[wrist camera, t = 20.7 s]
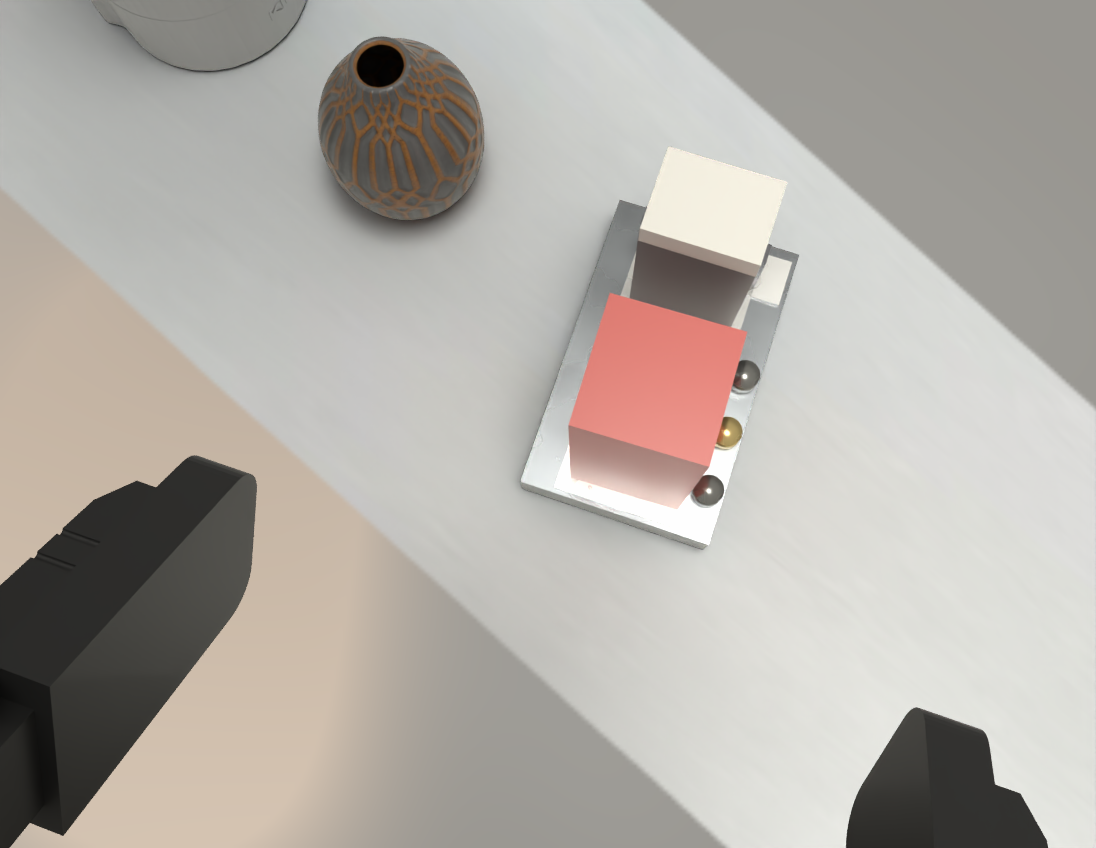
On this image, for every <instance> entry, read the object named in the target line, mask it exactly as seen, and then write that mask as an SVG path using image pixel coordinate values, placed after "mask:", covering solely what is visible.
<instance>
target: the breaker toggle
mask: <svg viewBox="0 0 1096 848" xmlns="http://www.w3.org/2000/svg"><path fill="white" fill-rule="evenodd" d="M786 185H787V182H786V181H782V180H779V179H776V178H772V177H769V176H766V175H762V174H759V173H756V172H752V171H749V170H746V169H742V168H739V167H736V166H732V165H729V164H726V163H722V162H719V161H716V160H712V159H709V158H706V157H702V156H699V155H696V154H692V153H689V152H686V151H682V150H679V149H676V148H672V147H669V146H668V149H667V152H666V155H665V158H664V160H663V163H662V166H661V169H660V172H659V175H658V178H657V181H656V183H655V186H654V189H653V192H652V195H651V198H650V201H649V204H648V207H647V209H646V212H645V215H644V218H643V221H642V224H641V227H640V231H639V238H638V244H637V251H636V257H635V264H634V270H633V277H632V284H631V290H630V297H629V298H630V299H633V300H637V301H641V302H644V303H648V304H651V305H655V306H658V307H662V308H665V309H669V310H672V311H676V312H679V313H683V314H686V315H690V316H693V317H697V318H700V319H704V320H707V321H711V322H715V323H718V324H722V325H725V326H729V327H731V326H732V324H733V322H734V320H735V318H736V316H737V314H738V312H739V310H740V308H741V306H742V304H743V301H744V299H745V297H746V295H747V293H748V291H749V289H750V287H751V285H752V283H753V281H754V279H755V277H756V275H757V273H758V271H759V268H760V266H761V264H762V260H763V257H764V254H765V251H766V248H767V245H768V242H769V239H770V235H771V232H772V229H773V226H774V223H775V220H776V217H777V213H778V210H779V207H780V204H781V201H782V198H783V195H784V191H785V188H786Z"/></svg>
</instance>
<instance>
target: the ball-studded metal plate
mask: <svg viewBox="0 0 1096 848" xmlns="http://www.w3.org/2000/svg"><path fill="white" fill-rule="evenodd" d="M646 209H647V207H646V208H645V207H642V206H638V205H635V204H632V203H629V202H625V201H622V200H620V201H619V204H618V207H617V209H616V212H615V215H614V218H613V221H612V224H611V226H610V229H609V232H608V235H607V238H606V240H605V243H604V246H603V249H602V252H601V255H600V257H599V260H598V263H597V266H596V269H595V272H594V274H593V277H592V280H591V283H590V286H589V289H588V291H587V294H586V297H585V300H584V303H583V305H582V308H581V311H580V314H579V317H578V320H577V322H576V325H575V328H574V331H573V334H572V337H571V339H570V342H569V345H568V348H567V351H566V354H565V356H564V359H563V362H562V365H561V368H560V371H559V373H558V376H557V379H556V382H555V385H554V387H553V390H552V393H551V396H550V399H549V402H548V404H547V407H546V410H545V413H544V416H543V419H542V421H541V424H540V427H539V430H538V433H537V436H536V438H535V441H534V444H533V447H532V450H531V453H530V455H529V458H528V461H527V464H526V467H525V469H524V472H523V475H522V478H521V481H520V482H521V485H522V488H523V489H525V490H528V491H531V492H534V493H537V494H540V495H543V496H546V497H549V498H551V499H554V500H557V501H560V502H563V503H566V504H569V505H572V506H575V507H578V508H581V509H584V510H587V511H590V512H593V513H596V514H599V515H602V516H605V517H608V518H611V519H614V520H616V521H619V522H622V523H625V524H628V525H631V526H634V527H637V528H640V529H643V530H646V531H649V532H652V533H655V534H658V535H661V536H664V537H667V538H670V539H673V540H676V541H679V542H681V543H684V544H687V545H690V546H693V547H696V548H699V549H702V550H703V549H704V548H705V547H707V546H708V545H709V543H710V539H711V536H712V533H713V530H714V526H715V523H716V520H717V517H718V514H719V510H720V507H721V504H722V501H723V498H724V494H725V491H726V488H727V485H728V482H729V478H730V475H731V472H732V469H733V465H734V462H735V459H736V456H737V453H738V449H739V446H740V443H741V440H742V437H743V433H744V430H745V427H746V424H747V420H748V417H749V414H750V411H751V408H752V404H753V401H754V398H755V395H756V392H757V388H758V385H759V382H760V379H761V376H762V372H763V369H764V366H765V363H766V359H767V356H768V353H769V350H770V347H771V343H772V340H773V337H774V334H775V331H776V327H777V324H778V321H779V318H780V314H781V311H782V308H783V305H784V302H785V298H786V295H787V292H788V289H789V286H790V282H791V279H792V276H793V273H794V270H795V266H796V263H797V260H798V257H799V255H798V254H795V253H791V252H788V251H785V250H782V249H778V248H775V247H772V245H770V244H768V245H767V248H766V251H765V254H764V257H763V260H762V264H761V266H760V268H759V271H758V273H757V275H756V277H755V279H754V281H753V283H752V285H751V287H750V289H749V291H748V293H747V295H746V297H745V299H744V301H743V304H742V306H741V308H740V310H739V312H738V314H737V316H736V318H735V320H734V322H733V324H732V326H731V327H732V328H736V329H739V330H743V331H746V332H747V335H746V338H745V342H744V346H743V349H742V353H741V356H740V360H739V363H738V367H737V370H736V374H735V378H734V381H733V385H732V388H731V392H730V395H729V399H728V403H727V406H726V410H725V413H724V417H723V420H722V424H721V427H720V431H719V435H718V438H717V442H716V445H715V449H714V452H713V456H712V459H711V463H710V467H709V468H708V469H707V471H706V472H705V474H704V475H703V476H702V478H701V479H700V480H699V482H698V483H697V484H696V486H695V487H694V488H693V490H692V491H691V492H690V494H689V495H688V496H687V498H686V499H685V501H684V502H683V503H682V505H681V506H680V507H679V509H678V510H676V509H673V508H669V507H666V506H663V505H660V504H656V503H653V502H650V501H646V500H643V499H640V498H636V497H633V496H630V495H626V494H623V493H620V492H616V491H613V490H610V489H606V488H603V487H600V486H597V485H593V484H590V483H587V482H583V481H580V480H577V479H573V478H570V455H569V427H568V425H569V422H570V419H571V415H572V412H573V409H574V406H575V403H576V399H577V396H578V393H579V390H580V387H581V383H582V380H583V377H584V374H585V371H586V367H587V364H588V361H589V358H590V355H591V351H592V348H593V345H594V342H595V339H596V335H597V332H598V329H599V326H600V323H601V319H602V316H603V313H604V310H605V307H606V303H607V300H608V297H609V294H610V293H612V294H616V295H619V296H623V297H626V298H629V297H630V290H631V284H632V277H633V270H634V264H635V257H636V251H637V244H638V238H639V231H640V227H641V224H642V221H643V218H644V215H645V212H646Z"/></svg>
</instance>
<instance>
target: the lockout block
mask: <svg viewBox="0 0 1096 848" xmlns="http://www.w3.org/2000/svg"><path fill="white" fill-rule="evenodd" d="M746 335H747V332H746V331H743V330H739V329H736V328H732V327H729V326H725V325H722V324H718V323H715V322H711V321H707V320H704V319H700V318H697V317H693V316H690V315H686V314H683V313H679V312H676V311H672V310H669V309H665V308H662V307H658V306H655V305H651V304H648V303H644V302H641V301H637V300H633V299H630V298H626V297H623V296H619V295H616V294H612V293H610V294H609V297H608V300H607V303H606V307H605V310H604V313H603V316H602V319H601V323H600V326H599V329H598V332H597V335H596V339H595V342H594V345H593V348H592V351H591V355H590V358H589V361H588V364H587V367H586V371H585V374H584V377H583V380H582V383H581V387H580V390H579V393H578V396H577V399H576V403H575V406H574V409H573V412H572V415H571V419H570V422H569V425H568V427H569V455H570V478H573V479H577V480H580V481H583V482H587V483H590V484H593V485H597V486H600V487H603V488H606V489H610V490H613V491H616V492H620V493H623V494H626V495H630V496H633V497H636V498H640V499H643V500H646V501H650V502H653V503H656V504H660V505H663V506H666V507H669V508H673V509H676V510H678V509H679V507H680V506H681V505H682V503H683V502H684V501H685V499H686V498H687V496H688V495H689V494H690V492H691V491H692V490H693V488H694V487H695V486H696V484H697V483H698V482H699V480H700V479H701V478H702V476H703V475H704V474H705V472H706V471H707V469H708V468H709V467H710V463H711V459H712V456H713V452H714V449H715V445H716V442H717V438H718V435H719V431H720V427H721V424H722V420H723V417H724V413H725V410H726V406H727V403H728V399H729V395H730V392H731V388H732V385H733V381H734V378H735V374H736V370H737V367H738V363H739V360H740V356H741V353H742V349H743V346H744V342H745V338H746Z"/></svg>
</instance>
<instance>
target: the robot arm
mask: <svg viewBox="0 0 1096 848" xmlns="http://www.w3.org/2000/svg"><path fill="white" fill-rule="evenodd" d="M91 2H92V3H93V4H94V6H95V7H96V8H97V10H98V11H99V12H100V14H101V15H102V16H103V18H104V19H105V20H106V21H107V22H109V23H113V24H117V25H120V26H123V27H125V28H126V29H127V30H128V31H129V32H130V33H131V34H132V35H133V37H134V38H135V39H136V40H137V42H138V43H139V44H140V45H141V47H143V48H144V49H145V50H147V51H148V52H149V53H151V54H152V55H153V56H154V57H156V58H158V59H160V60H162V61H164V62H166V63H169V64H171V65H173V66H177V67H181V68H185V69H190V70H204V71H215V70H221V69H227V68H233V67H236V66H239V65H241V64H244V63H247V62H250V61H252V60H254V59H256V58H258V57H259V56H261V55H263V54H264V53H266V52H268V51H269V50H271V49H272V48H273V47H274V46H275V45H276V44H278V43H279V42H280V41H281V40H282V39H283V38H284V37H285V36H286V35H287V34H288V32H289V31H290V30H291V28H292V27H293V26H294V24H295V23H296V22H297V20H298V18H299V16H300V14H301V12H302V10H303V7H304V5H305V2H306V0H91ZM256 492H257V484H256V480H255V477H254V476H253V475H251V474H249V473H246V472H243V471H240V470H237V469H234V468H231V467H228V466H225V465H222V464H219V463H217V462H214V461H211V460H208V459H205V458H202V457H199V456H191V457H189V458H187V459H185V460H184V461H183V462H182V463H181V464H180V465H179V466H178V467H177V468H176V469H175V470H174V471H173V472H172V473H171V474H170V475H169V476H168V477H167V478H165V480H164V481H162V482H161V483H160V484H159V485H158V486H157V487H153V486H150V485H147V484H144V483H141V482H139V481H135V482H133V483H131V484H129V485H126V486H124V487H122V488H120V489H117V490H115V491H113V492H111V493H109V494H106V495H104V496H102V497H100V498H97V499H95V500H93V501H92V502H91V503H90V504H89V505H88V506H87V507H86V508H85V509H83V510H82V511H81V512H80V513H79V514H78V515H77V516H76V517H75V518H74V519H73V520H71V521H70V522H69V523H68V524H67V525H66V526H65V527H64V528H63V531H62V533H61V534H60V535H58V534H56V535H55V536H54V537H53V538H52V539H51V540H50V541H48V542H47V543H46V544H45V545H44V546H43V547H42V548H41V549H40V550H38V552H37V555H36V557H35V558H30V559H29V560H28V561H26V562H25V563H24V564H23V565H22V566H21V567H20V568H19V569H18V570H17V571H15V573H13V575H11V576H10V577H9V578H8V579H7V580H6V581H5V582H3V583H2V584H1V585H0V848H9V847H11V845H12V844H13V843H14V842H15V840H16V839H17V838H18V837H19V835H20V834H21V833H22V832H23V831H24V829H25V828H26V827H27V825H28V824H29V823H32V824H34V825H37V826H39V827H42V828H44V829H47V830H50V831H52V832H55V833H57V834H60V835H62V836H63V835H64V834H65V833H66V832H67V830H68V829H69V828H70V827H71V825H72V824H73V823H74V821H75V820H76V819H77V817H78V816H79V815H80V814H81V812H82V811H83V810H84V808H85V807H86V806H87V804H88V803H89V802H90V800H91V799H92V798H93V796H94V795H95V794H96V793H97V791H98V790H99V789H100V787H101V786H102V785H103V784H104V782H105V781H106V780H107V778H108V777H109V776H110V774H111V773H112V772H113V771H114V769H115V768H116V767H117V765H118V764H119V763H120V761H121V760H122V759H123V757H124V756H125V755H126V754H127V752H128V751H129V750H130V748H131V747H132V746H133V744H134V743H135V742H136V741H137V739H138V738H139V737H140V735H141V734H142V733H143V731H144V730H145V729H146V728H147V726H148V725H149V724H150V722H151V721H152V720H153V718H154V717H155V716H156V715H157V713H158V712H159V711H160V709H161V708H162V707H163V705H164V704H165V703H166V702H167V700H168V699H169V698H170V696H171V695H172V694H173V692H174V691H175V690H176V688H177V687H178V686H179V685H180V683H181V682H182V681H183V679H184V678H185V677H186V675H187V674H188V673H189V672H190V670H191V669H192V668H193V666H194V665H195V664H196V662H197V661H198V660H199V658H200V657H201V656H202V655H203V653H204V652H205V651H206V649H207V648H208V647H209V646H210V644H211V643H212V642H213V640H214V639H215V638H216V636H217V635H218V634H219V633H220V631H221V630H222V629H223V627H224V626H225V625H226V623H227V622H228V621H229V619H230V618H231V617H232V615H233V614H234V612H235V611H236V609H237V607H238V605H239V603H240V601H241V599H242V597H243V595H244V592H245V590H246V587H247V584H248V580H249V577H250V572H251V565H252V551H253V537H254V522H255V507H256ZM846 848H1048V845H1047V840H1046V838H1045V837H1044V835H1043V833H1042V831H1041V829H1040V828H1039V826H1038V824H1037V822H1036V821H1035V819H1034V817H1033V815H1032V813H1031V812H1030V810H1029V808H1028V806H1027V805H1026V803H1025V801H1024V799H1023V797H1022V796H1021V794H1020V793H1017V792H1015V791H1012V790H1009V789H1006V788H1003V787H1000V786H997V785H995V782H994V775H993V768H992V761H991V754H990V747H989V742H988V738H987V736H986V734H985V732H984V731H982V730H981V729H978V728H975V727H972V726H969V725H966V724H964V723H961V722H958V721H955V720H952V719H949V718H946V717H943V716H940V715H938V714H935V713H932V712H929V711H926V710H923V709H920V708H913V709H912V710H910V711H909V712H908V713H907V715H906V716H905V718H904V719H903V721H902V722H901V724H900V725H899V727H898V729H897V730H896V732H895V733H894V735H893V736H892V738H891V740H890V741H889V743H888V744H887V746H886V748H885V749H884V751H883V752H882V754H881V756H880V757H879V759H878V760H877V762H876V764H875V765H874V767H873V768H872V770H871V772H870V773H869V775H868V776H867V778H866V779H865V781H864V783H863V784H862V786H861V788H860V790H859V792H858V794H857V796H856V799H855V801H854V804H853V807H852V811H851V815H850V819H849V824H848V830H847V838H846Z"/></svg>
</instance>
